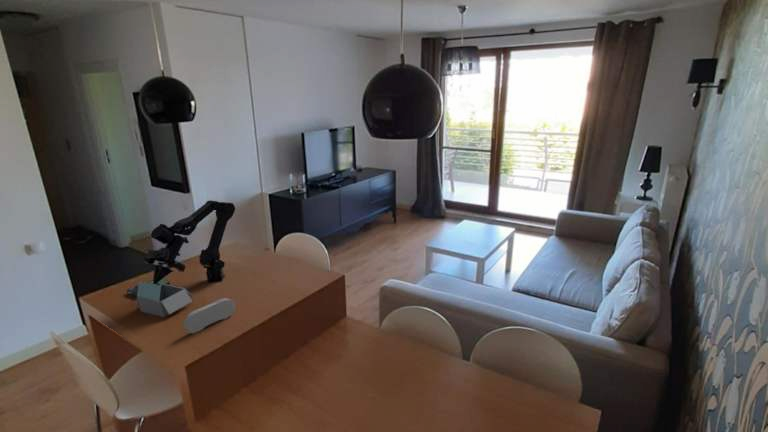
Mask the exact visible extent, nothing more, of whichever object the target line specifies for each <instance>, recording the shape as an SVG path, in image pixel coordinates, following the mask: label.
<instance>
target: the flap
mask: <svg viewBox="0 0 768 432" xmlns="http://www.w3.org/2000/svg"><path fill="white" fill-rule="evenodd" d="M147 282H148V281H146V282H145V281H142V280H141V281H139V280H138V285H137V286H138V293H137V296H140V297H145V298H149V299H153V300H157V301H159V300H160V291H161V286H160V285H156V284H151V283H147Z"/></svg>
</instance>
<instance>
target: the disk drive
mask: <svg viewBox="0 0 768 432" xmlns="http://www.w3.org/2000/svg"><path fill="white" fill-rule="evenodd" d="M146 282H147V283H151V284H155V283H153V279H150V280H149V281H146ZM161 284H168V285H171V282H170V281H168V280H167V279H164V278H163V279H161V280H160V281H159V282H158V283H156V285H161ZM126 293H127V295H129V296H131V297H133V298H135V300H137V293H138V285H135V286H132V287H130V288H127V289H126Z"/></svg>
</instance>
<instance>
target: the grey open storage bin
mask: <svg viewBox="0 0 768 432" xmlns="http://www.w3.org/2000/svg"><path fill="white" fill-rule="evenodd" d="M160 286H161V291H160V300H159V301H157V300H153V299H149V298H145V297H140V296H137V299H136V301H135V302H136V303H135V306H136V307H138V306H139V311H140V312H141V313H145V314H148V315H153V316H156V317H160V318H163V319H164V318H166V317H167V316H169V315H171V314H173V313H175V312H176V311H178V310H180V309H182V308H183V307H185V306H187V305H188V304H191V303H192V302H193V300H192V298H191V297H194V295H193V294H192V293H191V292H190V291H189V290H188V289H187V288H185V287H183V286H178V285H172V284H170V285H168V284H161V285H160Z"/></svg>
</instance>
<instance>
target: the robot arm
mask: <svg viewBox="0 0 768 432" xmlns="http://www.w3.org/2000/svg"><path fill="white" fill-rule="evenodd" d="M214 211H215V212H214ZM235 211H236V206H235V204H234V203H233V202H226V201H225V202H224V201H217V200H210V199H209V200H207V201H206V202H205V203H204V204H203V205H202V206H200V207H199V208H198V209H197V210H195V211H194V212H193V213H192V214H190V215H188V216H187V217H184V218H181V219H179V220H177V221H175V222H174V223H173V225H171V226H167V225H166V224H165V223H160V224H159V225H158V226H155V228H154V229H152V231H151V234H150V236H151V238H152V239H154V240H156V241H158V242H159V243H162V244H163V245H165V246H164V247H163V246H162V247H161V248H159V249H148V250H147V255H146V256H144V259H143V260H142V262H143V263H145V264H148V265H150V266H152V267H153V277H152V278H153V279H152V280H153V283H155V284H156V283H158V282H159V281H160V280H161V279H163V280H164V278H165V277H166V276H168V275H169V274H171V273H173V272H174V269H176V270H177V271H178V272H181V273H185V270H186V265H185V264H184V263H182V262H180V261H177V260H176V259H177V257H180V255H181V254H180V251H181V249H182V247H183V244H189V240H188V237H187V236H190V235H191V234H193V232H194V231H195V230H196V229H197V226H198V224H199V223H201V222H202V221H203V220H204V219H206V218H207V217H208V216H209V215H210V214H211V213H213V212H214V213H215V217H216V221H215V224H214V227H213V230H212V232H211V236H210V239H209V242H208V245H207V247H206V248H205V249H202V250H201V251H200V255H199V257H198V259H199V260H198V261H199V263H200V265H201V266H202V267H203V269H206V272H205V275H206V279H207V283H216V282H222V281H223V279H224V278H225V274H224V270H223V268H225V265H226V263H225V262H226V261H223V260H221V259H220V258H221V255H220V247H221V242H222V240H223V236H224V234H225V230H226V228H227V224H228V222H229V220H231V219H232V217H233V215H234V213H235Z"/></svg>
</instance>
